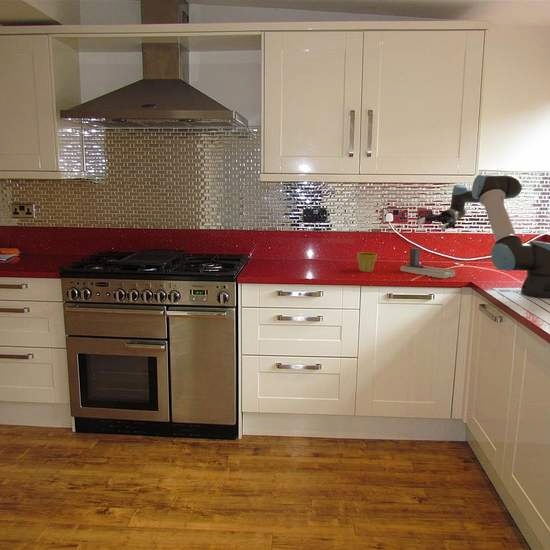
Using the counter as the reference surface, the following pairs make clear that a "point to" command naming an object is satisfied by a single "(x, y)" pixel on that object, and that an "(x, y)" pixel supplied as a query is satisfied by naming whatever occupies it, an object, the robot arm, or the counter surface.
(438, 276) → the rail
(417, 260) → the post
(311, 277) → the counter surface
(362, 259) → the plant pot
